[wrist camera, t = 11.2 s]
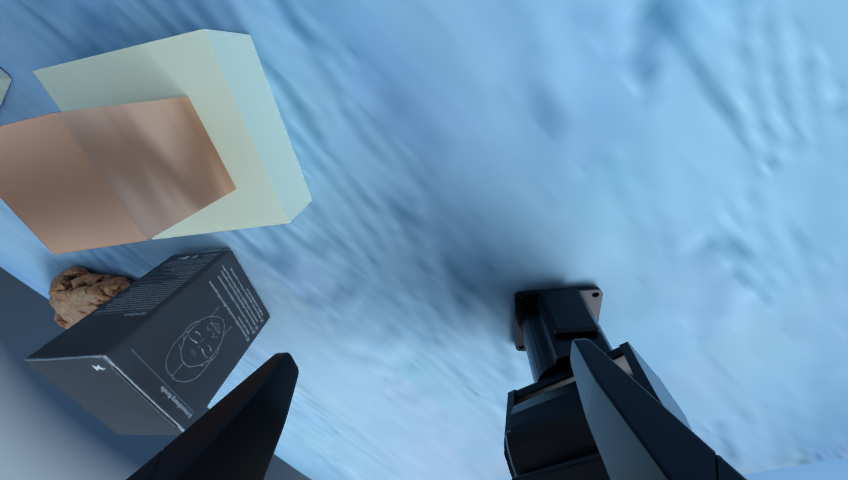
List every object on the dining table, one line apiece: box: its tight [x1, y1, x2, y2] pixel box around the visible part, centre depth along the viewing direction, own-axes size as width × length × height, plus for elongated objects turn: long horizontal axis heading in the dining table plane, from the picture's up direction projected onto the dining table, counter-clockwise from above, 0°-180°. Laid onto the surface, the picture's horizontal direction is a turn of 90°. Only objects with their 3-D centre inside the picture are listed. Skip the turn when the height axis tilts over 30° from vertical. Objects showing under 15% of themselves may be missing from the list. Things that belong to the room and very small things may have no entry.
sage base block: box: [33, 29, 312, 240], centre depth 19 cm, size 10×10×4 cm
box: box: [24, 249, 270, 435], centre depth 22 cm, size 8×6×11 cm
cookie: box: [49, 267, 134, 329], centre depth 28 cm, size 10×11×3 cm
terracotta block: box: [0, 96, 236, 254], centre depth 14 cm, size 5×5×6 cm
